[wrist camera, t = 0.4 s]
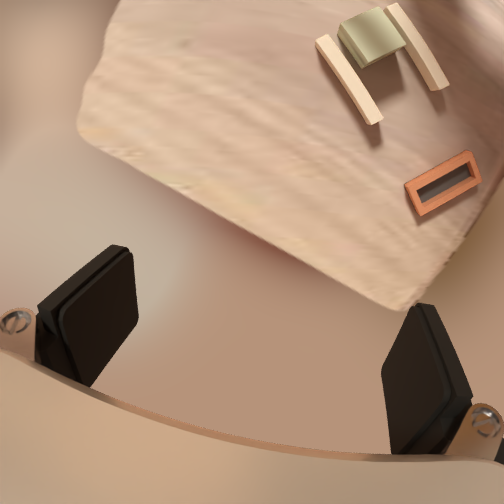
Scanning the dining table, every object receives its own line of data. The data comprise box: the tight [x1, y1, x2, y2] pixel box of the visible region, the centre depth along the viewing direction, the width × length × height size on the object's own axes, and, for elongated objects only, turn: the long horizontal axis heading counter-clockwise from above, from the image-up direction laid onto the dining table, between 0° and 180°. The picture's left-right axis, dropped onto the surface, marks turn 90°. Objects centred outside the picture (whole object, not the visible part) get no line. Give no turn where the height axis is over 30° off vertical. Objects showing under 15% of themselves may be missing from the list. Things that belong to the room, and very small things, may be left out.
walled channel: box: [315, 3, 450, 125], centre depth 27 cm, size 11×11×3 cm
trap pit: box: [404, 150, 482, 216], centre depth 32 cm, size 10×4×2 cm, turn 124°
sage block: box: [337, 6, 406, 69], centre depth 26 cm, size 5×5×5 cm
